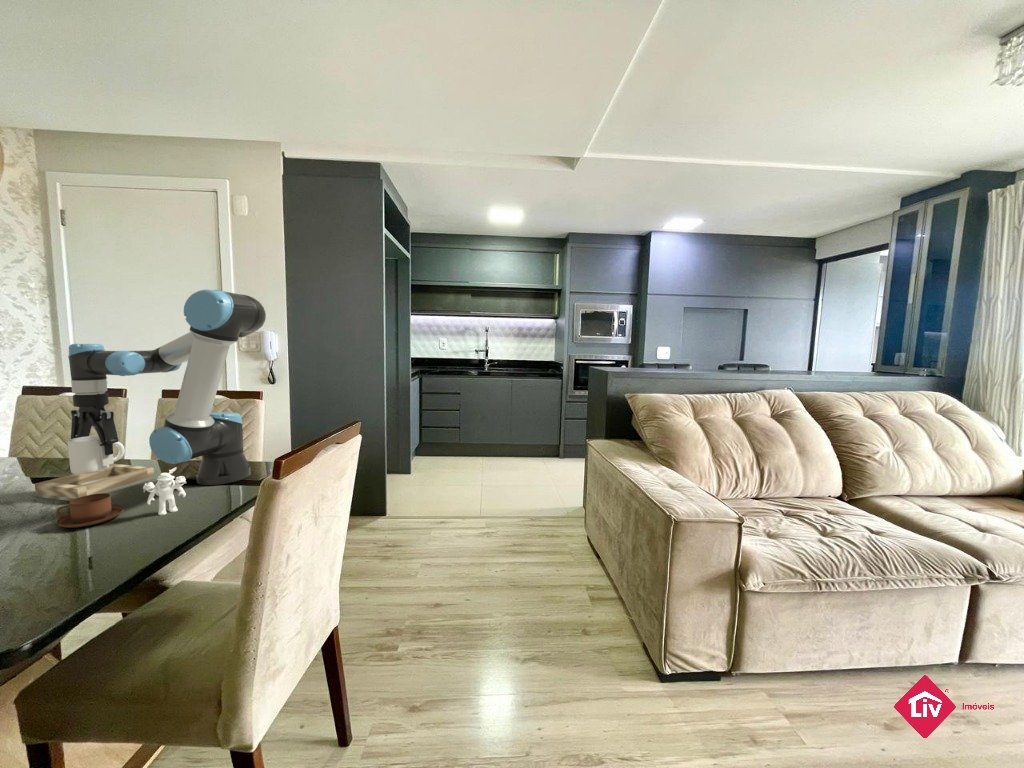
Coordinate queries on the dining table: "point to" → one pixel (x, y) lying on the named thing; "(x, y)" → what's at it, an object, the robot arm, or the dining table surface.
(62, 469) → the dining table surface
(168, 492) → the white toy figurine
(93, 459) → the mug
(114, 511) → the cup and saucer
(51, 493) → the board
